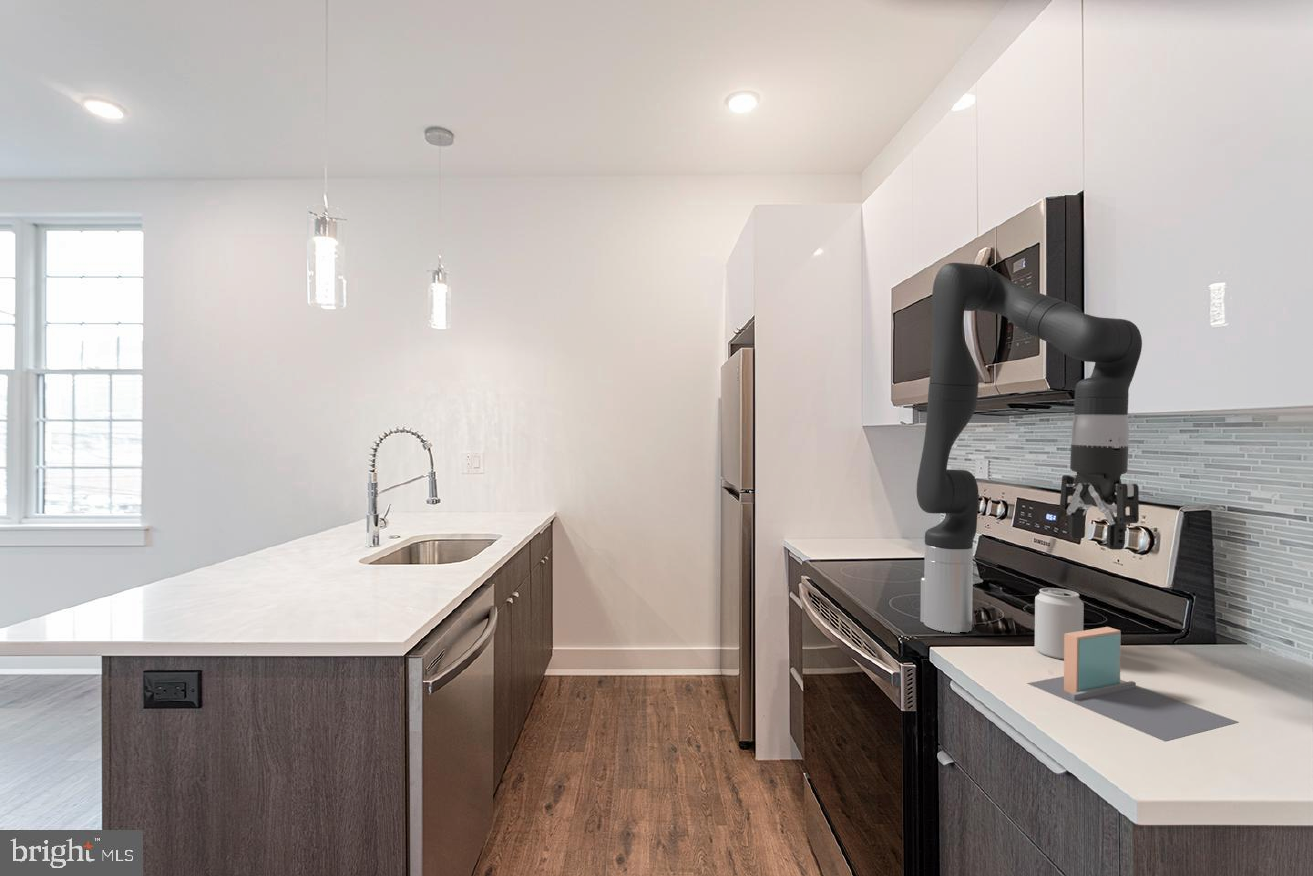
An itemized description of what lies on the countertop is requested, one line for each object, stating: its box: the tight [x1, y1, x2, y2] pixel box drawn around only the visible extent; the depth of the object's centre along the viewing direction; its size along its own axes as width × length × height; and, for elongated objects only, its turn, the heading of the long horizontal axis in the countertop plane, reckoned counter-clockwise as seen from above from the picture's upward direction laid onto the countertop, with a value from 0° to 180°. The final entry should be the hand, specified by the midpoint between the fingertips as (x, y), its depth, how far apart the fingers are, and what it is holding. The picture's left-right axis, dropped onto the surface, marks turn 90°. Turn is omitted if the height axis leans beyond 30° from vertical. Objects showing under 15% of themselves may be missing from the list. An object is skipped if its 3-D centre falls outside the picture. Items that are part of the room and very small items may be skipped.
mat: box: [1026, 675, 1239, 742], centre depth 94 cm, size 20×16×1 cm
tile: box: [1063, 626, 1122, 693], centre depth 98 cm, size 2×10×9 cm, turn 110°
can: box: [1034, 587, 1085, 661], centre depth 114 cm, size 8×8×12 cm
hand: (1095, 543), depth 100 cm, fingers open, 8 cm apart
